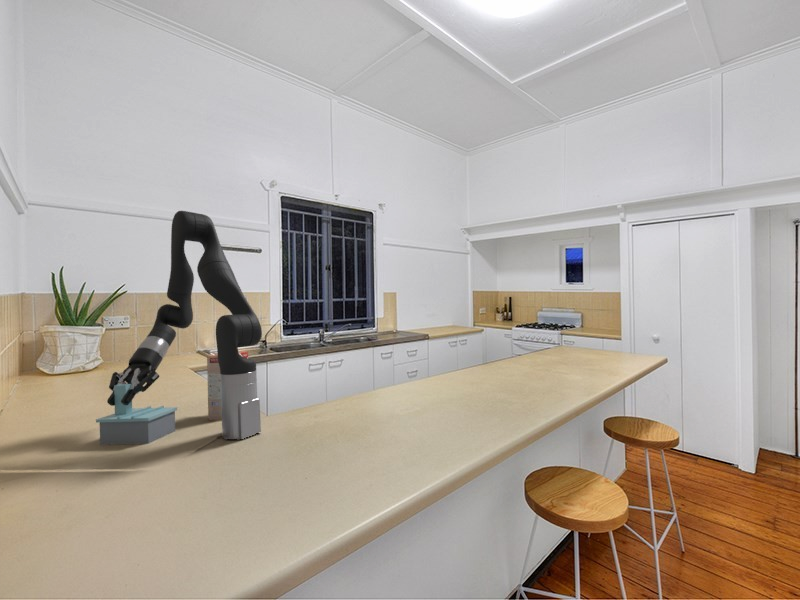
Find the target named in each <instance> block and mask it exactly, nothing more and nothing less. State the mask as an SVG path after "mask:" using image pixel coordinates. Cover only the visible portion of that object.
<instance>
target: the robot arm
mask: <svg viewBox="0 0 800 600" xmlns="http://www.w3.org/2000/svg"><path fill="white" fill-rule="evenodd" d="M170 237H171V238H170V240H171V241H170V244H171V245H170V271H169V272H170V274H169V279H168V285H167V291H166V297H167V299H169V300H171V301H172V302H174V303H176V304H177V305H174V304H170V303H165V304H163V305H161V306H160V307H159V308H158V310H157V313H156V318H155V321H154V323H153V327H152V329H151V330H150V331H149V333H148V335H147V336H146V337H145V338H144V340H143V341H141V343H140V345H139V346H138V347H137V349H136V350H135V351H134V353H133V354H132V355H131V357H130V359H129V360H128V366H127V367H126V368H125V369H123V372H122V371H121V372H119V373H118V372H117V371H115V372H113V373H112V375H111V378H110V382H109V386H108V389H109V390H111V394H110V396H109V397H108V399H107V401H106V402H107V404H108V405H110V406H112V407H115V394H114V386H115V385H119V384H131V386H130V390H128V391H127V393H126V394H125V395H124V397H123V398H122V400H121V403H122V404H123V405H128V404H129V403H130V402H131V401H132V402H133V399H135V396H136V395H137V394H139V393H140V392H142V393H144V392H145V391H147V390H148V389H149V388H150V387H151V386H152V385H153V384H154V383H155V382H156V381H157V380H158V379H159V378H160V374H158V373H157V372H156V370H158V367H159V366H160V364H161V363H162V361H163V360H164V358H165V357H166V354H167V353H168V350H169V349H170V347H171V345H172V343H173V341H174V340H175V338H176V336H177V333H176V330H175V329H174V328H176V329H177V328H178V329H183V330H184V329H187V328H188V327H190V326H191V324H192V323H193V320H194V319H193V318H194V312H193V311H194V310H193V304H192V291H193V288H194V283H195V275H194V271H193V268H192V266H191V265H190V263H189V261H188V258H187V255H186V253H185V251H186V250H185V243H186V241H188V242H196V243H200V244H201V245H202V246H203V249H204V250H203V251H204V252H203V254H202V255H201V257H200V259H199V261H198V263H197V268H196V269H197V270H196V271H197V275H198V278H199V280H200V282H201V285H202V286H203V288H204V290H205V292H206V293H208V294H209V296H211V297H212V298H213V299H215V300H216V301H217V302H219V303H220V304H222V305H223V306H224V307H225V308H226V309H227V310H229V312H230V313H231V314H224V315H222V316H220V317H219V318H218V319H217V322H216V325H215V341H216V350H217V352H216V353H217V355H218V363H219V367H220V380H221V409H222V420H221V425H222V426H221V428H222V429H221V430H222V439H223V438H224V440H227V439H237V440H240V439H243V440H245V439H247V438H246V437H248V438H250V437H249V436H251V435H254V434H256V433H259V432H261V433H262V429H261V428H262V425H261V422H262V420H261V403H260V401H261V400H260V398H258V382H257V381H258V379H257V378H258V377H257V362H256V360H254V359H251V358H248V359H247V358H244V357H242V356H241V355H240V354H239V352H238V351H239V349H238V348H246V347H253V346H256V345H258V344H259V343H260V341H261V340H262V336H263V334H262V333H263V332H262V331H263V330H262V325H261V323H260V320H259V318H258V317H257V315H256V313H255V311H254V309H253V308H252V306H251V305H250V303H249V301H248V300H247V298H246V297H245V295H244V293H243V291H242V289H241V287H240V285H239V283H238V280H237V278H236V276H235V273H234V271H233V269H232V266H231V265H230V263H229V261H228V260H227V257H226V255H225V252H224V250H223V248H222V245H221V242H220V240H219V237H218V233H217V230H216V227H215V224H214V222H213V220H212V218H211V217H210V216H208V215H206V214H203V213H197V212H192V211H186V210H178V211H177V212H176V213H174V215H173V218H172V222H171V234H170ZM173 327H174V328H173ZM259 434H260V433H259ZM256 435H257V434H256ZM254 436H255V435H254ZM251 437H252V436H251ZM244 438H245V439H244Z"/></svg>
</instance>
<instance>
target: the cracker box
mask: <svg viewBox="0 0 800 600" xmlns="http://www.w3.org/2000/svg"><path fill="white" fill-rule="evenodd" d="M238 352H239V354H240V355H241V356H242V357H244V358H247V359H249V351H245V350H244V351H243V350H238ZM206 367H207V373H206V374H207V409H208V410H207V411H208V412H207V414H208V416H207V417H208V418H207V419H208V421H222V409H221V380H220V367H219V363H218V354H214V355H213V354H211V355H207V356H206Z"/></svg>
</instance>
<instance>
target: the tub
mask: <svg viewBox="0 0 800 600" xmlns="http://www.w3.org/2000/svg"><path fill="white" fill-rule="evenodd" d="M174 432H176V411H173V412H171V413H168V414H166V415H163V416H160V417H158V418H155V419H153V420H150V421H135V422H99V444H100V445H131V444H132V445H133V444H135V445H137V444H139V445H140V444H150V443H153V442H154V441H157V440H159V439H162V438H164V437H165V436H167V435H171V434H173V433H174Z"/></svg>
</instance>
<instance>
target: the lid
mask: <svg viewBox="0 0 800 600" xmlns="http://www.w3.org/2000/svg"><path fill="white" fill-rule="evenodd" d="M130 386H131V384H119V385H115V386H114V394H115V405H114V413H112V414H109V415H106V416H102V417H100V418H96V419H95V423H100V422H135V421H150V420H153V419H155V418H158V417H160V416H163V415H166V414H168V413H171V412H173V411H175V412H176V411H178V406H175V407H174V406H173V407H172V406H171V407H170V406H169V407H165V405H161V406H158V407H152V406H151V405H150V406H146V407H143V408H141V407H140V408H136V407H135V408H133V400H132V401H131V402H130V403H129V404H128V405H123V404H122V403H121V400H122V398H123V397H124V395H125V394H126V393H127V391H128V390H130Z"/></svg>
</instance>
